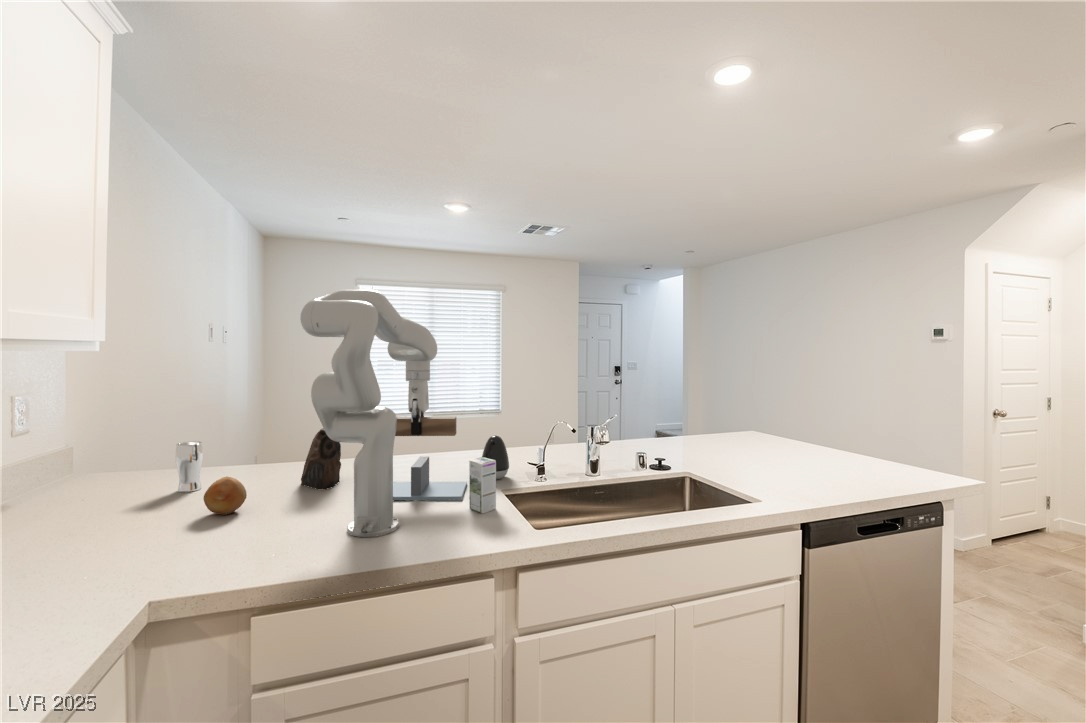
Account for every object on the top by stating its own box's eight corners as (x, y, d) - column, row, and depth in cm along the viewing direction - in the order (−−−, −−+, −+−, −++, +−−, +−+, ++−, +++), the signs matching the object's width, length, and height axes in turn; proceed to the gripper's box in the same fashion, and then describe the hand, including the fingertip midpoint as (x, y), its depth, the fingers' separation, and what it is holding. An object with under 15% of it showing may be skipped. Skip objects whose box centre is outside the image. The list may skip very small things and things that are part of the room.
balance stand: (461, 500, 147) (461, 467, 147) (368, 500, 146) (368, 468, 145) (466, 485, 163) (467, 455, 163) (383, 485, 162) (383, 455, 161)
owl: (337, 477, 171) (337, 421, 170) (352, 485, 162) (352, 425, 161) (299, 484, 162) (299, 425, 161) (313, 492, 153) (312, 430, 152)
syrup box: (496, 509, 140) (497, 459, 139) (481, 514, 135) (481, 463, 135) (484, 504, 144) (484, 456, 143) (468, 509, 139) (468, 459, 139)
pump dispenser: (476, 480, 168) (477, 437, 168) (485, 473, 179) (485, 432, 178) (505, 482, 167) (505, 439, 166) (511, 474, 177) (512, 433, 176)
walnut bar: (455, 435, 152) (455, 418, 152) (377, 436, 151) (377, 418, 150) (456, 433, 156) (456, 416, 156) (381, 433, 155) (381, 416, 154)
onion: (199, 513, 133) (199, 477, 133) (240, 504, 141) (240, 471, 140) (208, 522, 127) (208, 484, 126) (251, 513, 134) (250, 477, 134)
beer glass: (207, 488, 155) (206, 442, 155) (181, 494, 150) (181, 446, 149) (197, 485, 159) (196, 440, 159) (172, 490, 153) (171, 443, 153)
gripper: (425, 378, 145) (425, 438, 145) (434, 374, 161) (433, 428, 162) (399, 377, 144) (399, 438, 145) (411, 374, 161) (411, 428, 162)
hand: (417, 432), depth 153 cm, fingers closed on walnut bar, 4 cm apart
